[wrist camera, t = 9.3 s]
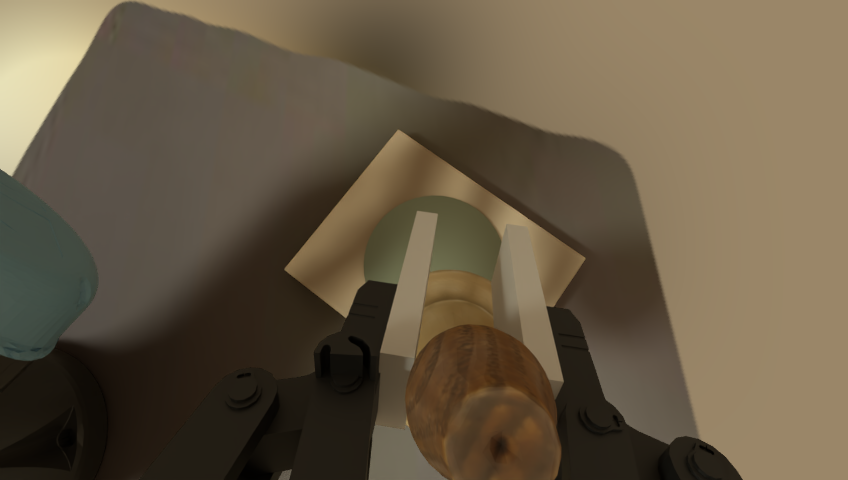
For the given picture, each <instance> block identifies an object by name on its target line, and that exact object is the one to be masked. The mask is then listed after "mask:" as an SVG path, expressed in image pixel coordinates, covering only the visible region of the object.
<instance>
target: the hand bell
mask: <svg viewBox="0 0 848 480" xmlns="http://www.w3.org/2000/svg"><path fill="white" fill-rule="evenodd" d="M405 404H406V414H407V418H406V425H407V426H408V427H409V428H410V430H411V433H412V436H413V438H414V440H415V442H416V444H417V446H418V448H419V450H420V452H421V453H422V454H423V456H424V457H425V459H426V460H427V461H428V463H429V464H430V465H431V466H432V467H434V468H435V469H436V470H437V471H438V472H439V473H440V474H441V475H442V476H444V477H445V478H447V479H448V480H555V478H556V476H557V474H558V470H559V465H560V461H561V443H560V440H559V436H558V432H557V429H556V425H557V408H556V403H555V399H554V395H553V391H552V388H551V384H550V382H549V380H548V377H547V375H546V372H545V371H544V369H543V367H542V366H541V364H540V363H539V361H538V360H537V358H536V357H535V356H534V355H533V354H532V352H531V351H530V350H529V349H528V348H527V347H526V346H525V345H524V344H523V343H521V342H520V341H519V340H517V339H516V338H514V337H513V336H511V335H509V334H507V333H505V332H502V331H500V330H498V329H496V328H494V321H493V304H492V288H491V281H489V280H488V279H486V278H484V277H481V276H479V275H476V274H474V273H471V272H467V271H461V270H437V271H432V272H430V273H429V279H428V286H427V292H426V298H425V304H424V311H423V317H422V323H421V330H420V336H419V342H418V348H417V355H416V359H415V361H414V364H413V366H412V369H411V371H410V374H409V378H408V382H407V386H406V392H405Z"/></svg>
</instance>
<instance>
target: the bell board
mask: <svg viewBox="0 0 848 480" xmlns="http://www.w3.org/2000/svg"><path fill="white" fill-rule="evenodd" d="M417 211H422V212H429V213H436V214H438V217H437V224H436V231H435V238H434V245H433V252H432V259H431V266H430V272H432V271H437V270H461V271H467V272H471V273H474V274H476V275H479V276H481V277H484V278H486V279H488V280H489V281H492V278H493V274H494V270H495V266H496V262H497V258H498V254H499V251H500V247H501V243H502V239H503V235H504V231H505V227H506V224H511V225H518V226H525V227H528V231H529V235H530V239H531V244H532V248H533V252H534V257H535V261H536V265H537V269H538V274H539V278H540V282H541V286H542V291H543V295H544V299H545V303H546V306H550V307H554V305H555V304H556V302H557V301H558V299H559V298H560V296H561V295H562V293H563V292H564V290H565V289H566V287H567V286H568V284H569V283H570V281H571V280H572V278H573V277H574V275H575V274H576V272H577V271H578V269H579V268H580V266H581V265H582V263H583V262H584V261H585V259H586V258H585V257H583V256H582V255H580V254H579V253H577V252H576V251H575V250H573V249H572V248H570V247H569V246H567V245H566V244H564V243H563V242H561V241H560V240H559V239H557V238H556V237H554V236H553V235H551V234H550V233H548V232H547V231H545V230H544V229H543V228H541V227H540V226H538V225H537V224H535V223H534V222H532V221H531V220H529V219H528V218H527V217H525V216H524V215H522V214H521V213H519V212H518V211H516V210H515V209H513V208H512V207H511V206H509V205H508V204H506V203H505V202H503V201H502V200H500V199H499V198H497V197H496V196H495V195H493V194H492V193H490V192H489V191H487V190H486V189H484V188H483V187H481V186H480V185H479V184H477V183H476V182H474V181H473V180H471V179H470V178H468V177H467V176H465V175H464V174H463V173H461V172H460V171H458V170H457V169H455V168H454V167H452V166H451V165H449V164H448V163H447V162H445V161H444V160H442V159H441V158H439V157H438V156H436V155H435V154H433V153H432V152H431V151H429V150H428V149H426V148H425V147H423V146H422V145H420V144H419V143H417V142H416V141H415V140H413V139H412V138H410V137H409V136H407V135H406V134H404V133H403V132H401V131H400V130H399V129H398V130H397V132H396V133H395V134H394V135H393V136H392V138H391V139H390V140H389V141H388V143H387V144H386V145H385V146H384V147H383V149H382V150H381V151H380V152H379V154H378V155H377V156H376V157H375V158H374V160H373V161H372V162H371V163H370V165H369V166H368V167H367V168H366V169H365V171H364V172H363V173H362V174H361V176H360V177H359V178H358V179H357V181H356V182H355V183H354V184H353V185H352V187H351V188H350V189H349V190H348V192H347V193H346V194H345V195H344V196H343V198H342V199H341V200H340V201H339V203H338V204H337V205H336V206H335V207H334V209H333V210H332V211H331V212H330V214H329V215H328V216H327V217H326V219H325V220H324V221H323V222H322V223H321V225H320V226H319V227H318V228H317V230H316V231H315V232H314V233H313V234H312V236H311V237H310V238H309V239H308V241H307V242H306V243H305V244H304V245H303V247H302V248H301V249H300V250H299V252H298V253H297V254H296V255H295V256H294V258H293V259H292V260H291V261H290V263H289V264H288V265H287V266H286V268H285V269H284V270H285V271H286V272H288V273H289V274H290V275H292V276H293V277H294V278H295V279H297V280H298V281H299V282H301V283H302V284H303V285H304V286H306V287H307V288H308V289H309V290H311V291H312V292H313V293H315V294H316V295H317V296H318V297H320V298H321V299H322V300H323V301H325V302H326V303H327V304H329V305H330V306H331V307H332V308H334V309H335V310H336V311H338V312H339V313H340V314H341V315H343V316H344V317H345V318H347V315H348V313H349V310H350V308H351V305H352V304H353V300H354V298H355V295H356V293H357V290H358V289H359V288H360V287H361V286H362V285H364V284H365V283H366V282H367V281H368V280H372V281H379V282H385V283H392V284H398V282H399V278H400V274H401V270H402V267H403V263H404V259H405V255H406V251H407V248H408V244H409V240H410V236H411V232H412V229H413V225H414V221H415V217H416V213H417Z"/></svg>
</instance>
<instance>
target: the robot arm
mask: <svg viewBox="0 0 848 480" xmlns="http://www.w3.org/2000/svg"><path fill="white" fill-rule="evenodd" d="M437 217H438V214H436V213H429V212H422V211H417V213H416V217H415V221H414V225H413V229H412V232H411V236H410V240H409V244H408V248H407V251H406V255H405V259H404V263H403V267H402V270H401V274H400V278H399V282H398V284H392V283H385V282H379V281H372V280H368V281H367V282H366V283H365V284H364V285H362V286H361V287H360V288H359V289H358V290H357V293H356V295H355V298H354V300H353V304H352V305H351V308H350V310H349V313H348V315H347V318H346V320H345V323H344V326H343V328H342V331H341V332H338V333H335V334H332V335H330V336H327V337H326V338H325V339H324V340H323V341H321V342H320V343H319V344H318V346H317V348H316V350H315V352H314V361H315V372H313V373H311V374H309V375H306V376H301V377H297V378H289V379H281V380H275V378H274V377H273V375H272V374H271V373H270V372H268V371H266V370H264V369H261V368H246V369H241V370H237V371H235V372H233V373H231V374H229V375H227V376H225V377H224V378H223V379H222V380H221V381H220V382H219V383H218V384H217V385H215V387H214V388H213V389H212V390H211V392H210V393H209V394H208V395H207V397H206V398H205V399H204V400H203V402H202V403H201V404H200V405H199V406H198V408H197V409H196V410H195V411H194V413H193V414H192V415H191V416H190V418H189V419H188V420H187V421H186V422H185V424H184V425H183V426H182V427H181V429H180V430H179V431H178V432H177V434H176V435H175V436H174V437H173V439H172V440H171V441H170V442H169V443H168V445H167V446H166V447H165V448H164V450H163V451H162V452H161V453H160V455H159V456H158V457H157V458H156V460H155V461H154V462H153V463H152V464H151V466H150V467H149V468H148V469H147V471H146V472H145V473H144V474H143V476H142V477H141V478H140V479H139V480H278V479H279V477H280V475H281V473H282V471H285V470H290V469H292V472H291V476H290V479H289V480H368V479H369V468H370V458H371V448H372V434H373V430H374V425H381V426H387V427H393V428H399V429H405V424H406V418H407V414H406V404H405V392H406V386H407V382H408V378H409V374H410V371H411V369H412V366H413V364H414V361H415V359H416V355H417V348H418V342H419V336H420V330H421V323H422V317H423V311H424V304H425V298H426V292H427V286H428V279H429V273H430V266H431V259H432V252H433V245H434V238H435V231H436V224H437ZM97 288H98V271H97V267H96V264H95V262H94V259H93V257H92V255H91V253H90V251H89V250H88V248H87V247H86V245H85V244H84V242H83V241H82V240H81V238H80V237H79V236H78V235H77V233H76V232H75V231H74V230H73V229H72V228H71V227H70V226H69V225H68V224H67V223H66V222H65V221H64V220H63V219H62V218H61V217H60V216H59V215H58V214H57V213H56V212H55V211H54V210H53V209H52V208H50V207H49V206H48V205H47V204H46V203H45V202H44V201H42V200H41V199H40V198H39V197H38V196H36V195H35V194H34V193H33V192H31V191H30V190H29V189H27V188H26V187H25V186H24V185H22V184H21V183H19V182H18V181H17V180H15V179H14V178H12V177H11V176H10V175H8V174H7V173H5V172H4V171H2V170H1V169H0V480H94V478H95V476H96V473H97V471H98V469H99V466H100V463H101V461H102V457H103V454H104V450H105V445H106V438H107V413H106V407H105V402H104V399H103V395H102V393H101V390H100V388H99V386H98V384H97V382H96V380H95V379H94V377H93V376H92V374H91V373H90V372H89V370H88V369H87V368H86V367H85V366H84V365H83V364H82V363H81V362H79V361H78V360H77V359H75V358H74V357H72V356H71V355H69V354H67V353H65V352H63V351H60V350H57V349H54V348H55V345H56V343H57V341H58V339H59V337H60V336H61V335H62V333H63V332H64V331H65V330H66V329H67V328H68V327H69V326H70V325H71V324H72V323H73V322H74V321H75V320H76V319H77V318H78V317H79V316H80V315H81V314H82V312H83V311H84V310H85V309H86V308H87V307H88V306H89V305H90V303H91V302H92V300H93V299H94V297H95V294H96V291H97ZM491 288H492V304H493V321H494V328H496V329H498V330H500V331H502V332H505V333H507V334H509V335H511V336H513V337H514V338H516V339H517V340H519V341H520V342H521V343H523V344H524V345H525V346H526V347H527V348H528V349H529V350H530V351H531V352H532V354H533V355H534V356H535V357H536V358H537V360H538V361H539V363H540V364H541V366H542V367H543V369H544V371H545V372H546V375H547V377H548V380H549V382H550V384H551V388H552V391H553V395H554V399H555V403H556V408H557V425H556V429H557V432H558V436H559V440H560V443H561V461H560V465H559V470H558V474H557V476H556V478H555V480H743V479H742V478H741V476H740V475H739V473H738V472H737V470H736V469H735V468H734V467H733V465H732V464H731V463H730V462H729V461H728V459H727V458H726V457H725V456H724V455H723V454H721V453H720V452H719V451H718V450H716V449H715V448H714V447H713V446H711V445H709V444H707V443H705V442H703V441H701V440H699V439H696V438H692V437H687V436H684V437H678V438H676V439H675V440H674V441H673V442H672V443H671V444H670V445H668V444H666V443H664V442H661V441H659V440H657V439H655V438H652V437H650V436H648V435H646V434H643V433H641V432H639V431H637V430H635V429H634V428H632V427H630V426H629V425H627V424H626V422H625V420H624V418H623V416H622V415H621V414H620V413H619V411H618V410H617V409H616V408H615V407H614V406H613V405H612V404H610V403H609V402H608V401H606V399H605V397H604V395H603V392H602V388H601V385H600V382H599V379H598V376H597V373H596V370H595V367H594V364H593V361H592V358H591V355H590V352H588V350H589V349H588V346H587V343H586V340H585V336H584V333H583V330H582V327H581V324H580V322H579V321H578V320H577V319H576V317H575V316H574V315H573V314H572V312H571V311H570V310H569V309H563V308H556V307H550V306H546V303H545V299H544V295H543V291H542V286H541V282H540V278H539V274H538V269H537V265H536V261H535V257H534V252H533V248H532V244H531V239H530V235H529V231H528V227H525V226H518V225H511V224H506V227H505V231H504V235H503V239H502V243H501V247H500V251H499V254H498V258H497V262H496V266H495V270H494V274H493V278H492V281H491ZM375 421H376V423H375Z"/></svg>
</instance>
